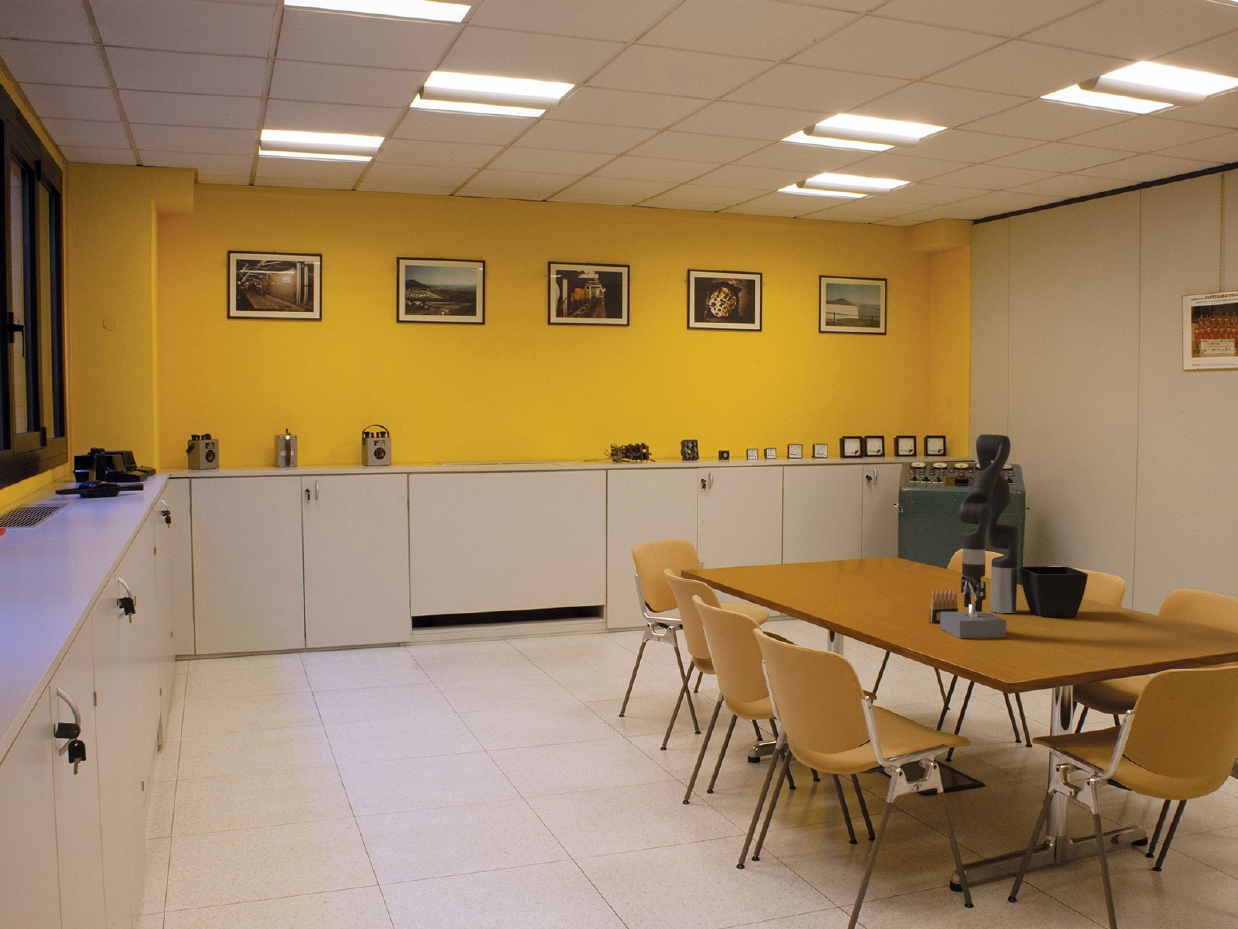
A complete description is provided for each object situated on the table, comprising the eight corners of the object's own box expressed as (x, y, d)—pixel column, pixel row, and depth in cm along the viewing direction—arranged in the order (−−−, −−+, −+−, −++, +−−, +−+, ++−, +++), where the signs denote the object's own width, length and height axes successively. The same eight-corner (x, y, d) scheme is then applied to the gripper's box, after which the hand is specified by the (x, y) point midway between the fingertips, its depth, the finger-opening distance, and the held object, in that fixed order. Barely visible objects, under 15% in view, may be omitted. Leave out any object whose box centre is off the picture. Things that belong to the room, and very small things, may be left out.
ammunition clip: (932, 623, 366) (932, 590, 366) (929, 622, 368) (929, 589, 368) (958, 622, 369) (959, 589, 369) (955, 621, 371) (956, 588, 370)
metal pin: (966, 632, 351) (967, 603, 351) (974, 632, 351) (975, 603, 351) (970, 634, 348) (970, 605, 348) (978, 634, 348) (979, 605, 348)
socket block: (940, 629, 357) (940, 611, 357) (984, 628, 359) (984, 611, 358) (959, 638, 341) (960, 620, 341) (1005, 638, 343) (1006, 620, 343)
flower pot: (1035, 619, 376) (1036, 573, 375) (1017, 609, 395) (1018, 566, 394) (1088, 619, 375) (1089, 574, 375) (1067, 610, 394) (1068, 566, 393)
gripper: (993, 564, 342) (992, 613, 343) (975, 559, 356) (974, 605, 357) (972, 565, 341) (971, 613, 342) (954, 559, 356) (953, 605, 356)
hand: (972, 609), depth 350 cm, fingers open, 8 cm apart
